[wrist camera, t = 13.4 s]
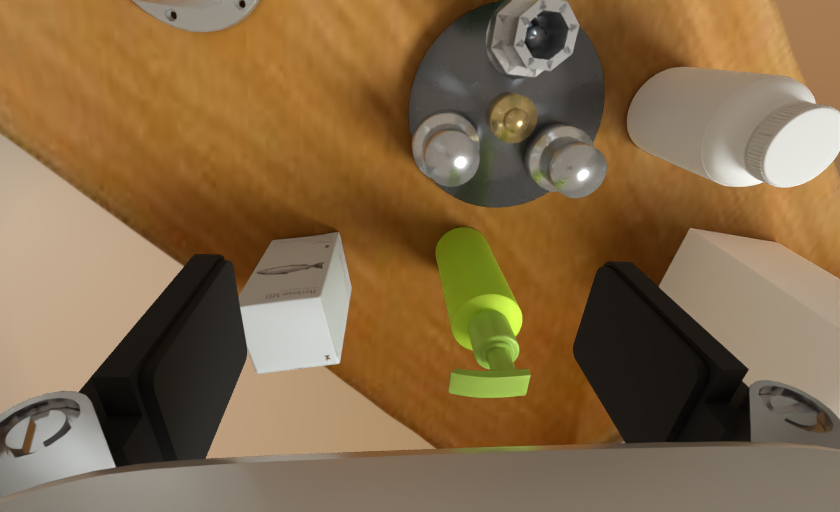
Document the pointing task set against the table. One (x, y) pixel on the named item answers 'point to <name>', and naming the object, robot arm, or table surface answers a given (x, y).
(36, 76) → the table surface
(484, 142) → the carrier
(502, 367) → the soap dispenser
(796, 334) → the milk
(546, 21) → the octagonal collar pipe
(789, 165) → the pill bottle
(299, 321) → the supplement box
